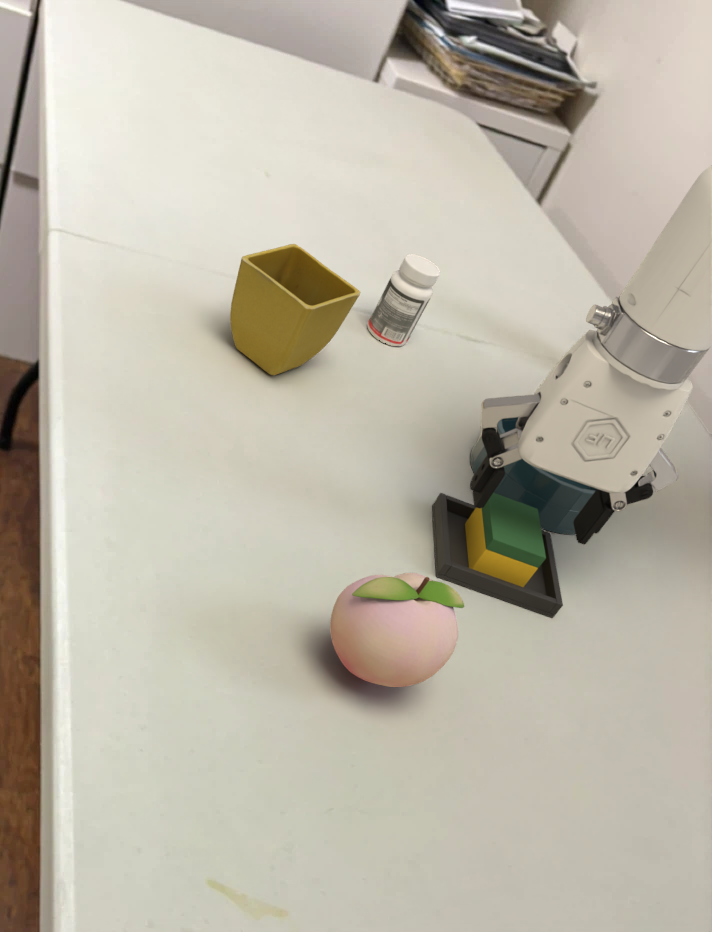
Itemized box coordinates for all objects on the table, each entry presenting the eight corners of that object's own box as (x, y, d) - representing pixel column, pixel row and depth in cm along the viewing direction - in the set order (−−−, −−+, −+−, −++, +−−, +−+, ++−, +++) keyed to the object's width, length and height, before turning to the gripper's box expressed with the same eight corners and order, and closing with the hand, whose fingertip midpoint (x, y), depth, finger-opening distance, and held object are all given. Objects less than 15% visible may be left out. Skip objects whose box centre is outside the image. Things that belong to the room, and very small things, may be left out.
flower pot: (207, 340, 106) (240, 254, 99) (261, 323, 111) (295, 241, 105) (272, 393, 104) (310, 309, 97) (324, 373, 109) (363, 292, 103)
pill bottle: (382, 318, 121) (418, 248, 115) (413, 343, 120) (451, 273, 114) (358, 325, 118) (393, 254, 112) (389, 351, 117) (427, 280, 111)
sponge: (513, 541, 100) (538, 508, 97) (520, 591, 95) (546, 558, 92) (464, 524, 99) (487, 490, 96) (468, 572, 94) (493, 538, 91)
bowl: (588, 468, 114) (617, 429, 111) (607, 552, 105) (640, 513, 101) (465, 421, 112) (491, 380, 109) (474, 503, 103) (502, 461, 99)
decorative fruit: (340, 725, 78) (406, 630, 71) (291, 640, 82) (348, 542, 75) (440, 711, 82) (511, 620, 75) (388, 630, 86) (451, 537, 79)
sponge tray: (540, 545, 102) (550, 532, 100) (552, 618, 95) (563, 605, 94) (431, 505, 100) (440, 492, 99) (435, 576, 93) (445, 563, 92)
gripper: (549, 328, 78) (436, 510, 90) (763, 408, 80) (624, 575, 92) (539, 279, 83) (434, 458, 95) (740, 356, 85) (611, 521, 97)
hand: (527, 516), depth 94 cm, fingers open, 9 cm apart
